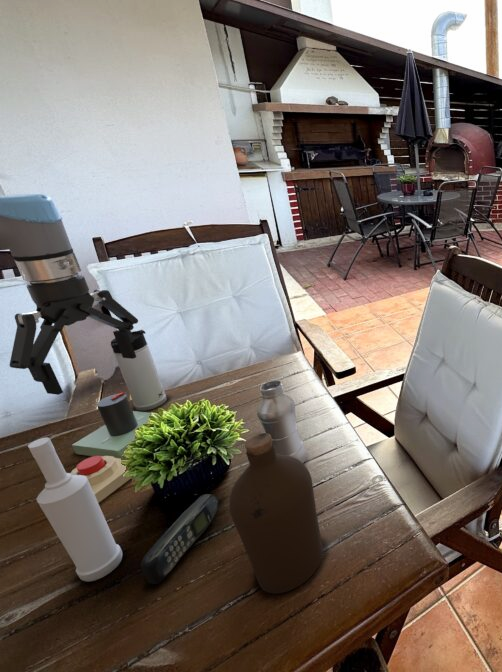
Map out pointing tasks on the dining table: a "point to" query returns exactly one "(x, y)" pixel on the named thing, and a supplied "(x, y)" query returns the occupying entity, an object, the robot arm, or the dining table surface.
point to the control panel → (108, 440)
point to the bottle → (75, 515)
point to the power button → (90, 465)
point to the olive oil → (276, 517)
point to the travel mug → (140, 374)
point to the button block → (106, 477)
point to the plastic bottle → (280, 420)
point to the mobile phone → (178, 539)
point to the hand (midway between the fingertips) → (95, 374)
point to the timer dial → (117, 414)
